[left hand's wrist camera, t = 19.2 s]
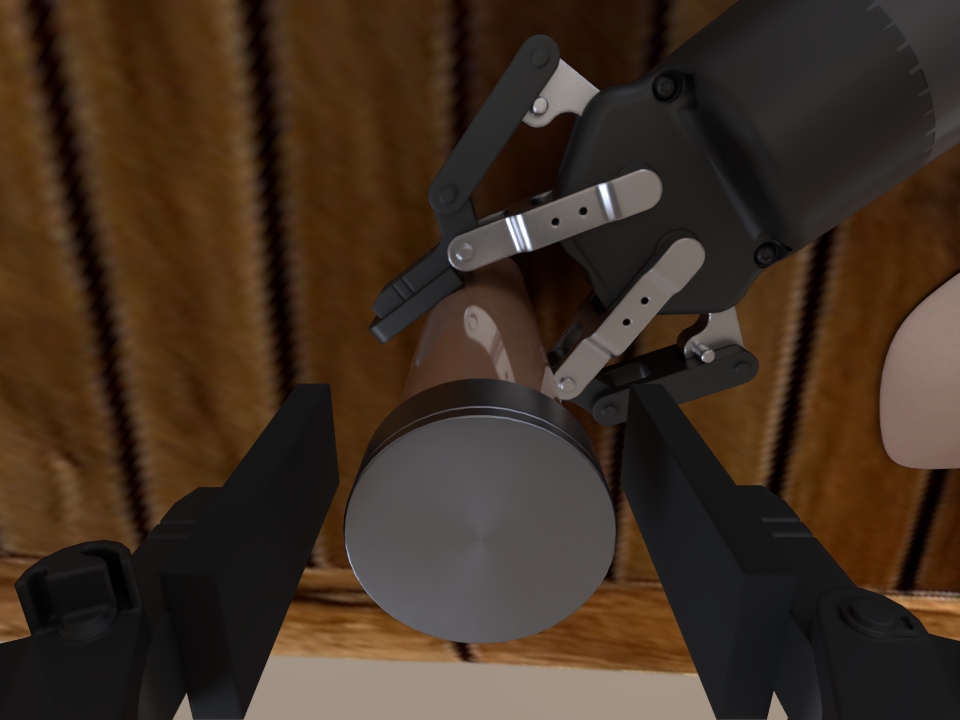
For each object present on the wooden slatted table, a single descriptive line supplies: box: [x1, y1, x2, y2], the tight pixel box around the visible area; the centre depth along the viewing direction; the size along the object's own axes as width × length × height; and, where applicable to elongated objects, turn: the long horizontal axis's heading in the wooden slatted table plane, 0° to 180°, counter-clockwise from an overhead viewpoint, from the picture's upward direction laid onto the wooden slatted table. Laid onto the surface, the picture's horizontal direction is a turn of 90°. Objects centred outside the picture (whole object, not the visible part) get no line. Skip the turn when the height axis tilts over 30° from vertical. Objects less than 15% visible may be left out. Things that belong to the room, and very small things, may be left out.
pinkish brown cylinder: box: [398, 257, 562, 406], centre depth 20 cm, size 4×4×17 cm
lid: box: [343, 378, 617, 643], centre depth 12 cm, size 5×5×2 cm
